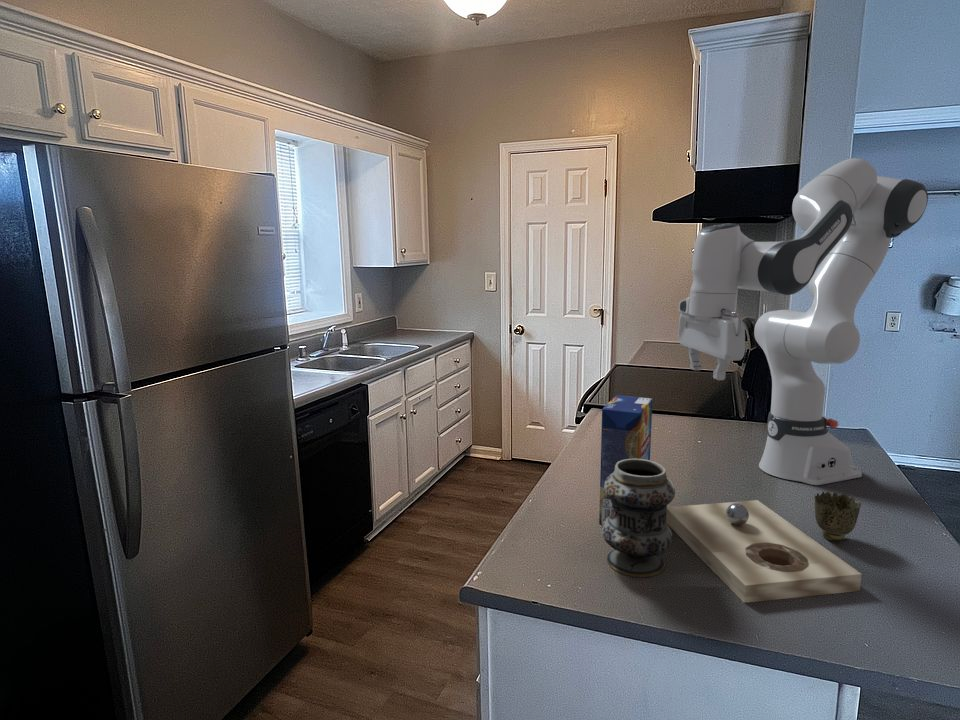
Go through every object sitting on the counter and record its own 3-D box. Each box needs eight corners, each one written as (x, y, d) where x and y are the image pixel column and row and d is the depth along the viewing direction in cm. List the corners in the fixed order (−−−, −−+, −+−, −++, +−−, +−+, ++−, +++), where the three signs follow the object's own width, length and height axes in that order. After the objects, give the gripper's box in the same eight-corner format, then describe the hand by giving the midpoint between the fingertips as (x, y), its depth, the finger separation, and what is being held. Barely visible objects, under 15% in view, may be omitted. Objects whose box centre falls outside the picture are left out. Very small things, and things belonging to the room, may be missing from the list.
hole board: (756, 513, 121) (757, 500, 121) (859, 590, 94) (861, 574, 94) (664, 521, 119) (665, 507, 118) (743, 602, 92) (745, 585, 91)
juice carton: (636, 531, 115) (641, 413, 110) (599, 523, 118) (602, 409, 114) (648, 506, 125) (652, 398, 121) (613, 500, 129) (616, 394, 124)
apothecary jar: (685, 574, 100) (691, 475, 96) (622, 587, 96) (626, 484, 93) (646, 541, 111) (650, 451, 108) (588, 551, 108) (590, 458, 104)
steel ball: (740, 518, 113) (741, 499, 112) (752, 528, 109) (754, 508, 108) (721, 520, 113) (722, 500, 112) (732, 529, 109) (734, 509, 108)
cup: (803, 529, 115) (806, 490, 113) (841, 529, 114) (845, 490, 113) (823, 548, 107) (828, 508, 106) (865, 548, 107) (869, 507, 106)
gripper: (757, 312, 107) (750, 385, 110) (702, 302, 127) (697, 364, 130) (725, 312, 106) (718, 386, 109) (674, 302, 126) (670, 365, 129)
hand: (706, 374), depth 120 cm, fingers open, 8 cm apart
